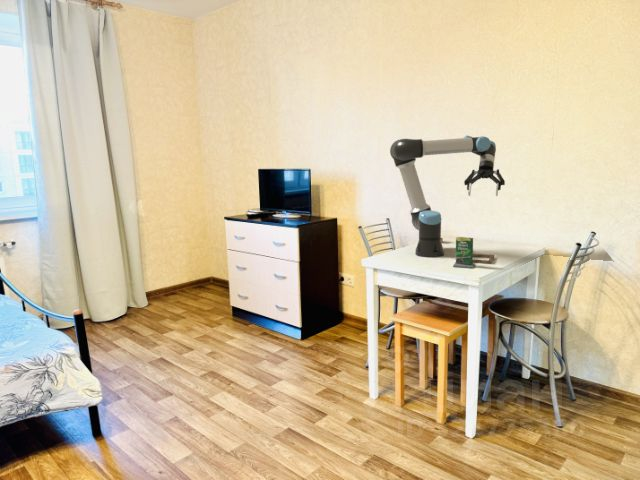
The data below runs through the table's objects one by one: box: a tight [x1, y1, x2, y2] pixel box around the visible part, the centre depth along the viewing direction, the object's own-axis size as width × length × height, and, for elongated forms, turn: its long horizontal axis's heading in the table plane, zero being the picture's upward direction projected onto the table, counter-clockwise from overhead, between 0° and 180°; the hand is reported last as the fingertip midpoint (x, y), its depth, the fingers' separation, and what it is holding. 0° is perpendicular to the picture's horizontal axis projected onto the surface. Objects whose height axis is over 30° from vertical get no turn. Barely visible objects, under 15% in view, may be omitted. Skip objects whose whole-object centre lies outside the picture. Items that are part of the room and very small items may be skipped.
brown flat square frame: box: [473, 253, 495, 265], centre depth 226 cm, size 14×15×2 cm
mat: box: [452, 261, 476, 269], centre depth 215 cm, size 9×9×1 cm
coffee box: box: [455, 236, 474, 265], centre depth 214 cm, size 8×3×13 cm, turn 45°
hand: (482, 194), depth 231 cm, fingers open, 13 cm apart
